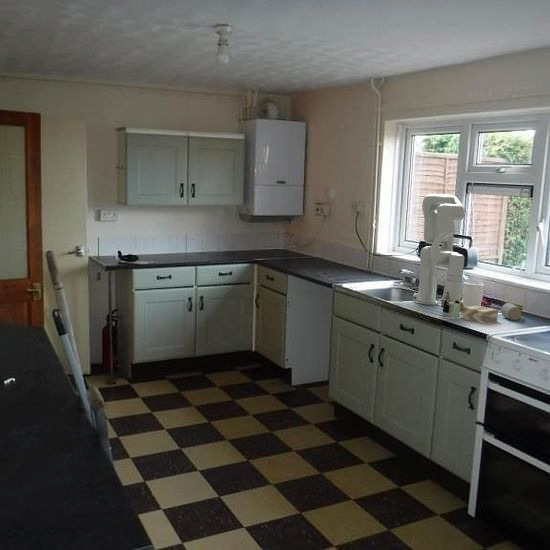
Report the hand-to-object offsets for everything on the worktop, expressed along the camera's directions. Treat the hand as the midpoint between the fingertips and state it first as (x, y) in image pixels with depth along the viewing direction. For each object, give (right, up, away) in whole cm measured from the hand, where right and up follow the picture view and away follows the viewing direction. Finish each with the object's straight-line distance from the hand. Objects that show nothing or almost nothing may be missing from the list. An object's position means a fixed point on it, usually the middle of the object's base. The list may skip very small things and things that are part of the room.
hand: (451, 311), depth 318 cm
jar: (+14, -1, +14) cm, 20 cm away
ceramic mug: (+31, -4, -1) cm, 31 cm away
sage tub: (0, -2, 0) cm, 2 cm away
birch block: (+12, -4, -7) cm, 15 cm away
